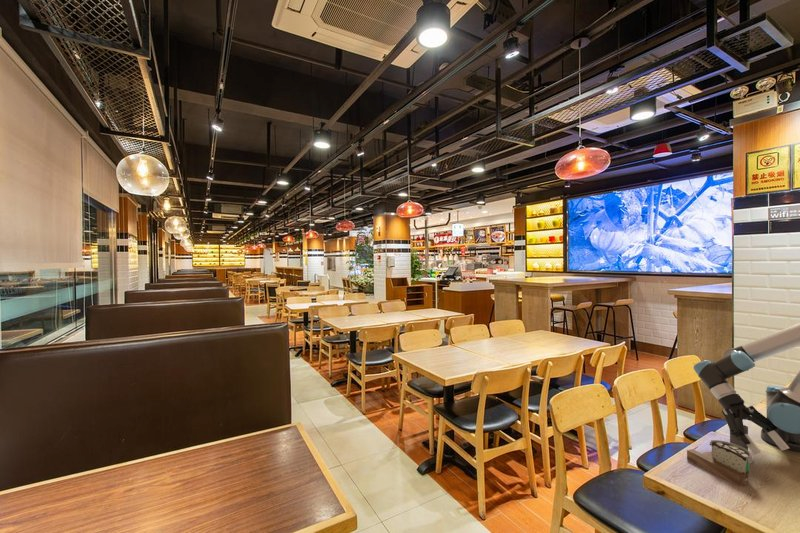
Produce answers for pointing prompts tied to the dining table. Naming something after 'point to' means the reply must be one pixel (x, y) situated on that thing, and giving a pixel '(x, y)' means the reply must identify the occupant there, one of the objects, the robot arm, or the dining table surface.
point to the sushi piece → (732, 456)
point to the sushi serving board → (717, 467)
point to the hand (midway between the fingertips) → (771, 451)
